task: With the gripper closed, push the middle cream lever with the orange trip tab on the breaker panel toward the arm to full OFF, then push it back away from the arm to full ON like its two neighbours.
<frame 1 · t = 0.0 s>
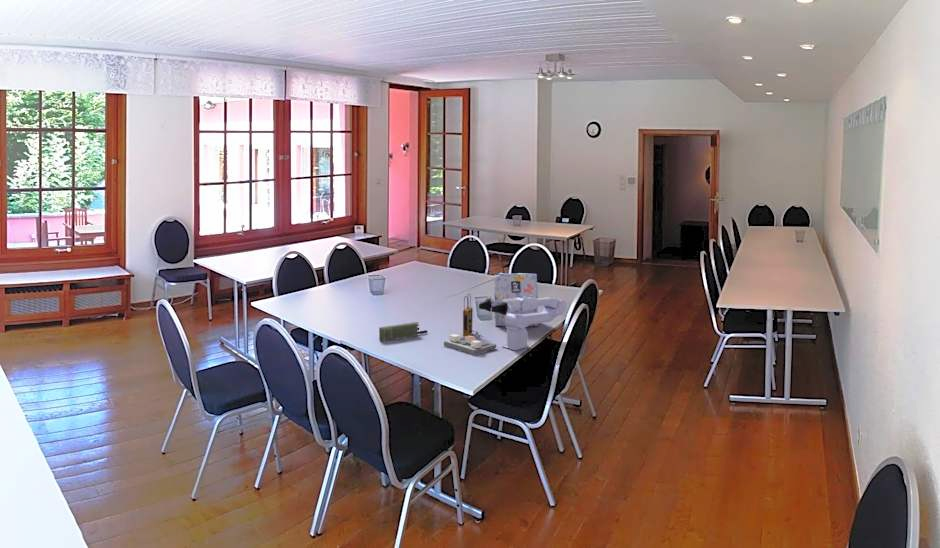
hand: (485, 307, 329), 22 cm above the table, tool horizontal, fingers open, 7 cm apart
breaker panel: (469, 347, 346), on the table
lever 2: (475, 344, 338), point 4 cm above the table, slide at 3.0 cm
tripped lever: (469, 339, 345), point 4 cm above the table, slide at 0.0 cm
lunch bag: (515, 324, 387), on the table
multimeter: (474, 335, 366), on the table
lever 1: (454, 338, 348), point 4 cm above the table, slide at 3.0 cm
handheld radio: (404, 338, 362), on the table
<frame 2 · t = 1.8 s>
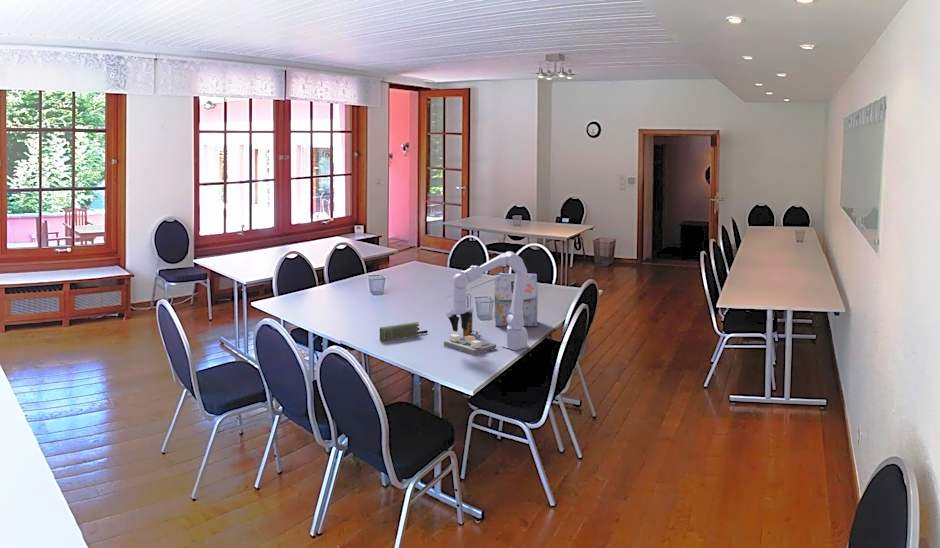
hand: (459, 330, 340), 9 cm above the table, tool pointing down, fingers open, 5 cm apart
nothing on the table moved.
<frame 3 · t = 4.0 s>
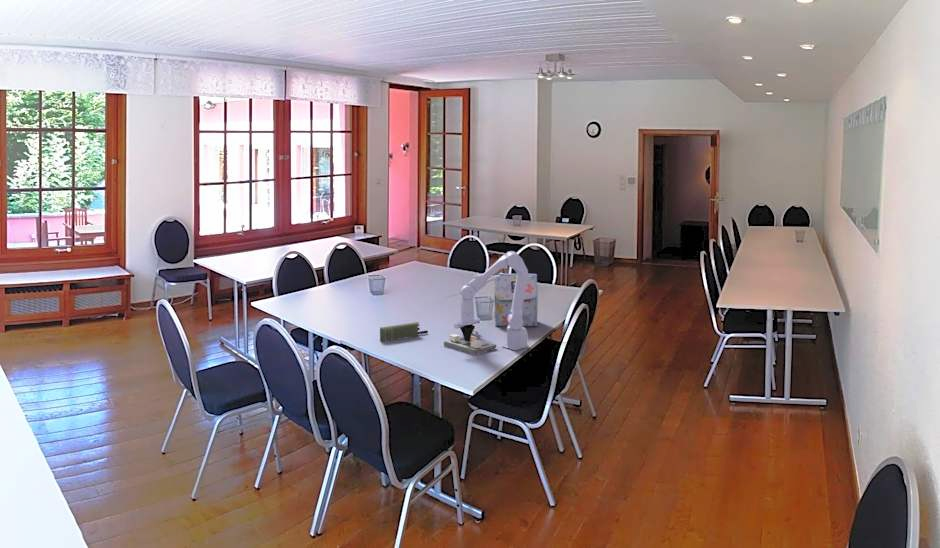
hand: (467, 340, 344), 3 cm above the table, tool pointing down, fingers closed
tripped lever: (471, 339, 346), point 4 cm above the table, slide at -0.8 cm, touching gripper
everything else where it was.
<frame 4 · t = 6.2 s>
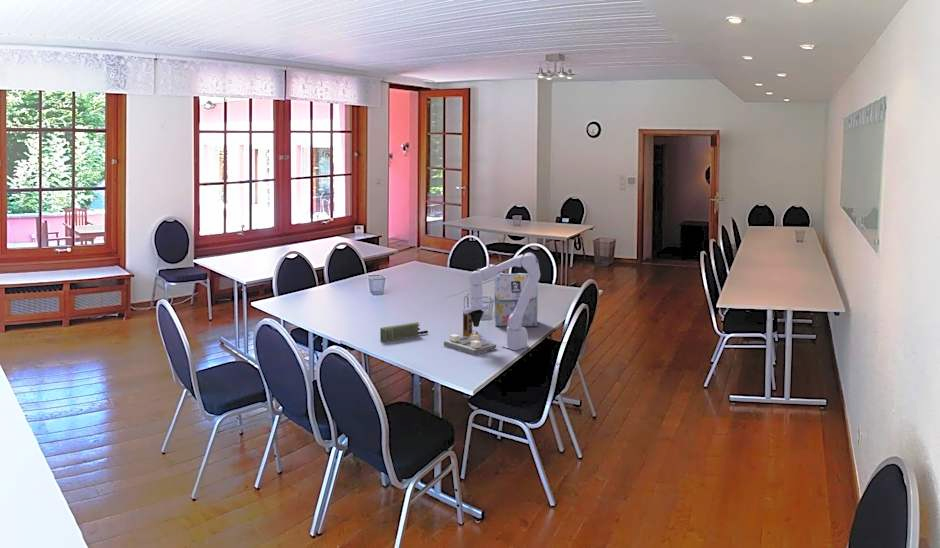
hand: (476, 326, 347), 9 cm above the table, tool pointing down, fingers closed
tripped lever: (474, 338, 347), point 4 cm above the table, slide at -3.1 cm
everything else where it was.
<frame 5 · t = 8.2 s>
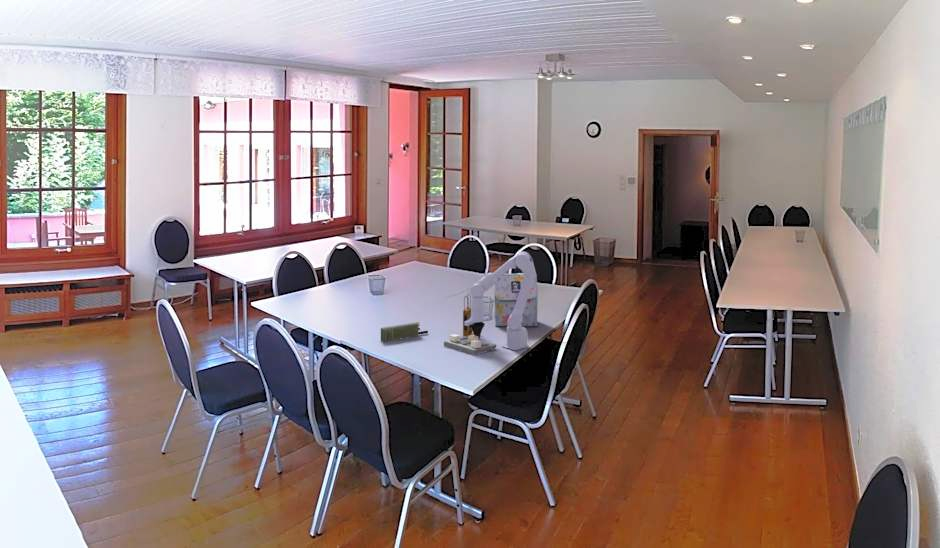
hand: (477, 338, 348), 3 cm above the table, tool pointing down, fingers closed
tripped lever: (473, 338, 347), point 4 cm above the table, slide at -2.1 cm, touching gripper
everything else where it was.
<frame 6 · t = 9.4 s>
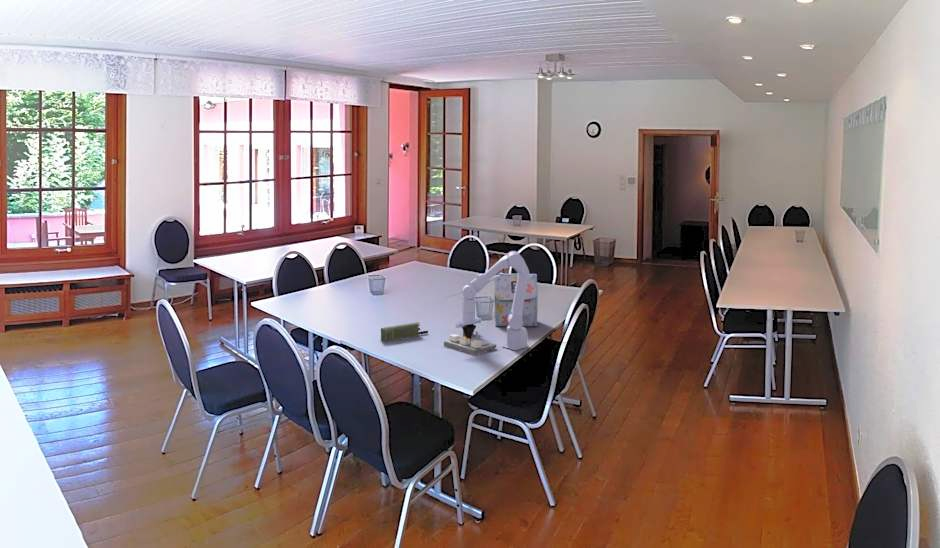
hand: (468, 340, 345), 3 cm above the table, tool pointing down, fingers closed
tripped lever: (464, 340, 343), point 4 cm above the table, slide at 3.1 cm, touching gripper
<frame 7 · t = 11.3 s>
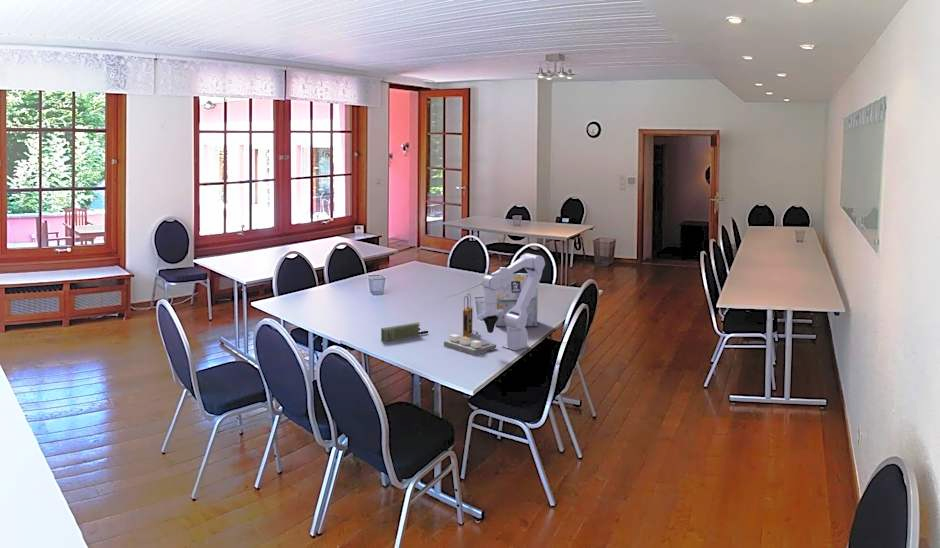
hand: (490, 332, 336), 9 cm above the table, tool pointing down, fingers closed
tripped lever: (465, 340, 343), point 4 cm above the table, slide at 3.1 cm
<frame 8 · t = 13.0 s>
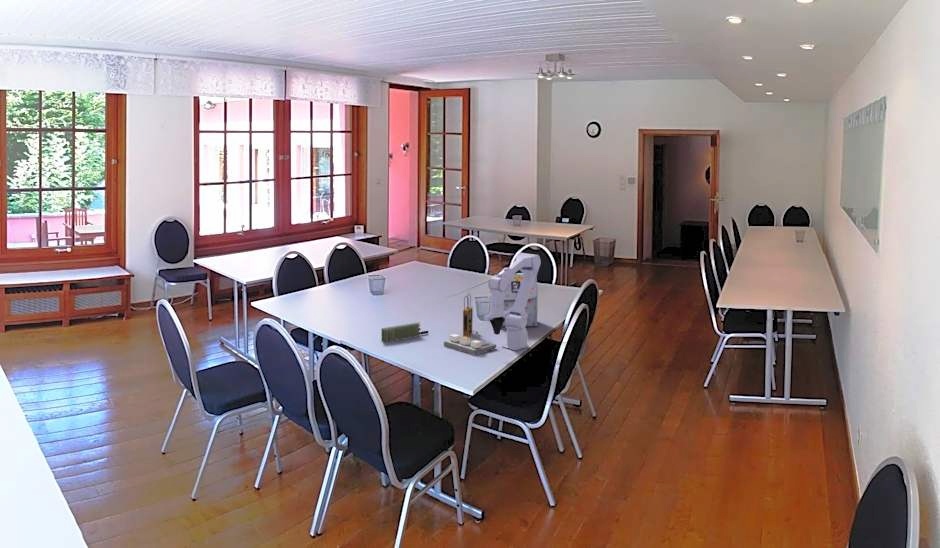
hand: (496, 333, 333), 9 cm above the table, tool pointing down, fingers closed
at the end: tripped lever slide at 3.1 cm; lever 2 slide at 3.0 cm; lever 1 slide at 3.0 cm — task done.
